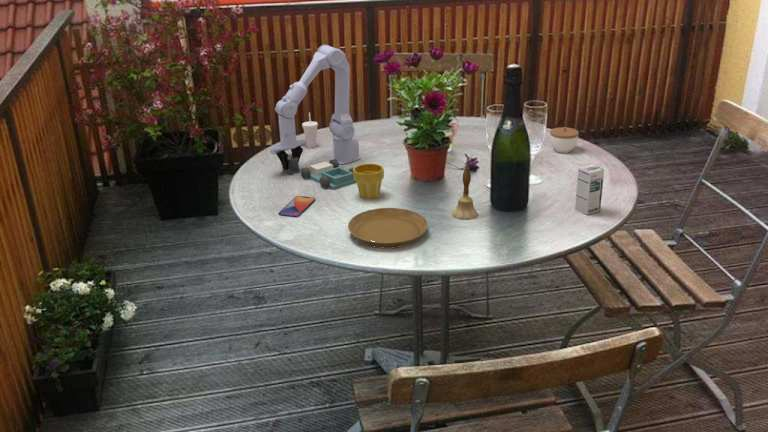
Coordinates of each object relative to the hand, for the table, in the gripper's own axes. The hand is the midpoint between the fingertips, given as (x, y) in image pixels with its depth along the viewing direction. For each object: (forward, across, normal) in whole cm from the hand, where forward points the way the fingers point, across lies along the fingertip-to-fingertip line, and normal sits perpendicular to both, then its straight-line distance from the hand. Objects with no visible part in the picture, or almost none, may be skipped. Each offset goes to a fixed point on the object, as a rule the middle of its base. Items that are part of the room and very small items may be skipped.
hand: (290, 167), depth 268 cm
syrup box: (+2, -52, +94) cm, 107 cm away
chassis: (+2, -7, +15) cm, 17 cm away
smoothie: (+2, -22, -19) cm, 29 cm away
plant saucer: (+2, +6, +64) cm, 64 cm away
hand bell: (+2, -21, +70) cm, 73 cm away
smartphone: (+2, +16, +29) cm, 33 cm away
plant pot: (+2, -8, +37) cm, 38 cm away
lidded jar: (+2, -92, +53) cm, 106 cm away
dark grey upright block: (+2, 0, 0) cm, 2 cm away
